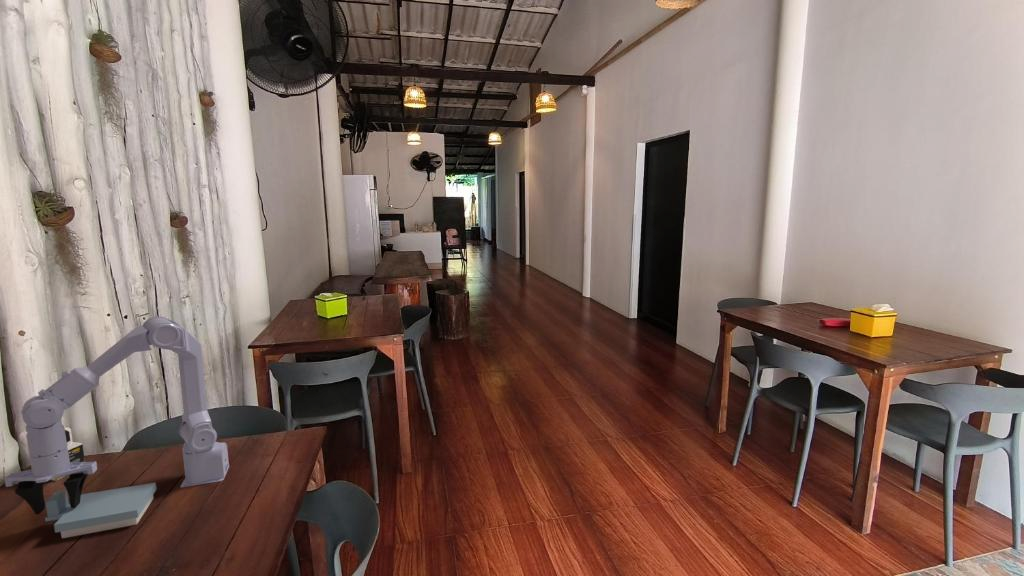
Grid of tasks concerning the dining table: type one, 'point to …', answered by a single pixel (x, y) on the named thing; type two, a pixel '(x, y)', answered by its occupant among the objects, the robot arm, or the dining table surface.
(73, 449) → the medicine bottle
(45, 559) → the dining table surface
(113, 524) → the tub
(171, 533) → the dining table surface
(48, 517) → the lid
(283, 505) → the dining table surface
